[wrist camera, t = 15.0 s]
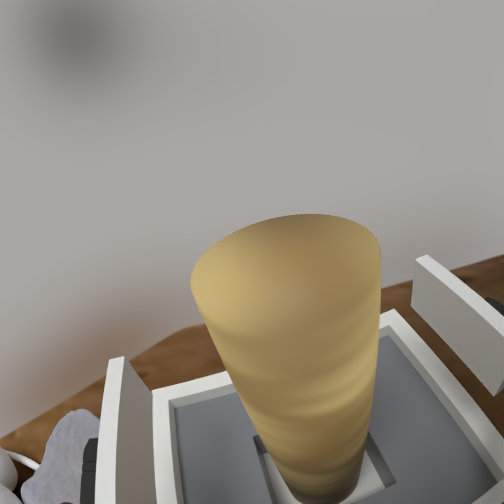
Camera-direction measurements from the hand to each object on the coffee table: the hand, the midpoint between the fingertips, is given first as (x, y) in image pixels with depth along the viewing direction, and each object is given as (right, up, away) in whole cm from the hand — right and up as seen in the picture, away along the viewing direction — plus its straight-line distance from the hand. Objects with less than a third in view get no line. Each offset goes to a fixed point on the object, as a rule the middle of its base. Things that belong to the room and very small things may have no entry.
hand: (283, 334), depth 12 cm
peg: (+3, -10, +2) cm, 11 cm away
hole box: (+3, -11, +3) cm, 12 cm away
